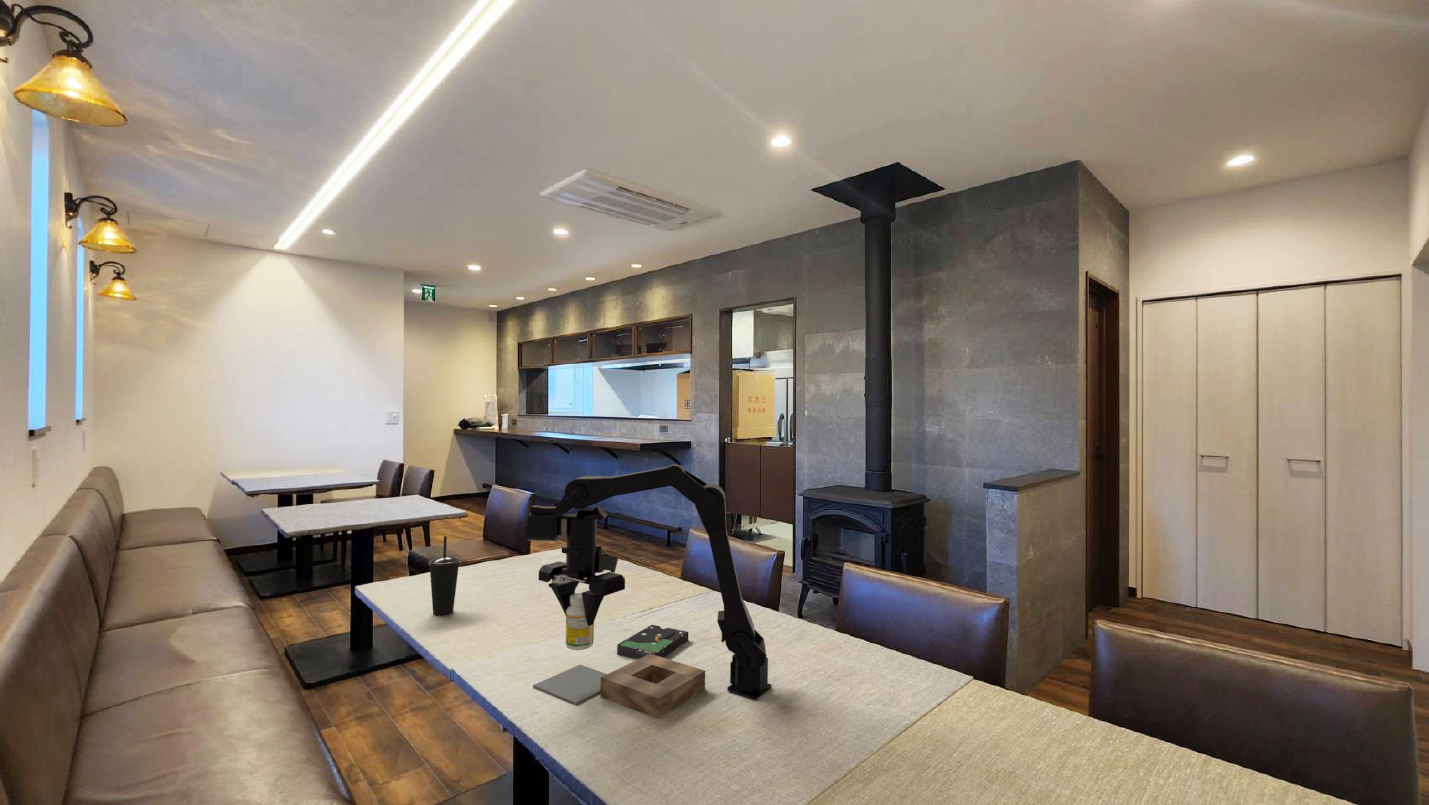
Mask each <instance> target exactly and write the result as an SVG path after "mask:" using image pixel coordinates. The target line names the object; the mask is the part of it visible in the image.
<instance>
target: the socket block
mask: <svg viewBox="0 0 1429 805" xmlns="http://www.w3.org/2000/svg"><path fill="white" fill-rule="evenodd" d="M606 674H607V675H604V676H602V677H601V687H600V693H599V694H600V695H599V696H600V697H601V698H603V699H606V700H608V699H609V701H611V702H614V703H617V704H619V705H622V706H623V707H627V708H629V709H632V710H634V711H637V712H640V713H642V714H645V715H648V716H650V717H651V718H654V719H658V720H660V719H661V718H662V717H663V716H665V715H666V714H668V713H670V712H671V711H673V710H675V709H677V708H678V707H679V706H681V705H682V704H684V703H685V702H688V700H690V699H692V698H693V697H695V696H697V695H698V694H700V693H701V692H703V691H705V690H706V670H705V669H701V668H698V667H694V666H691V665H688V664H686V663H681V662H679V661H678V662H677V661H675V660H672V659H669V658H666V657H664V658H663V657H659V656H656V655H653V654H648V655H646V656H644V657H642V658H640V659H635V660H634V661H632V662H630V663H627V664H626V665H623V666H621V667H619V668H617V669H615V670H613V671H611V672H609V673H606Z"/></svg>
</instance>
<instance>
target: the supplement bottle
mask: <svg viewBox="0 0 1429 805" xmlns="http://www.w3.org/2000/svg"><path fill="white" fill-rule="evenodd" d="M581 593H582V592H575V594H573V595H571V596H570V604H571V606H569V607H568V608H567V610H566V615H565V646H566V648H568V650H571V651H582V650H583V651H584V650H588V649H589V648H591V647H593V645H594V637H595V636H594V635H595V634H594V633H595V627H594V626H595V622H594V623H593V625H590V626H589V625H588V624H587V620H586V616H585V610H584V605H583V599H582V594H581Z"/></svg>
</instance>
